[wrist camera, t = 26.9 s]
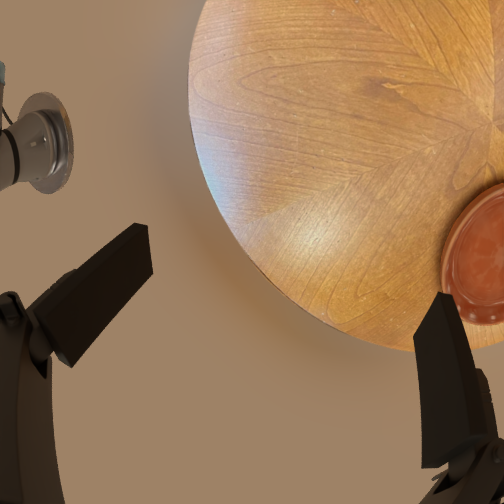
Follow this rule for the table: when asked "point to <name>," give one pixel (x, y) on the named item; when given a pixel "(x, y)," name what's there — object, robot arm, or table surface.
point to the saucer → (477, 260)
